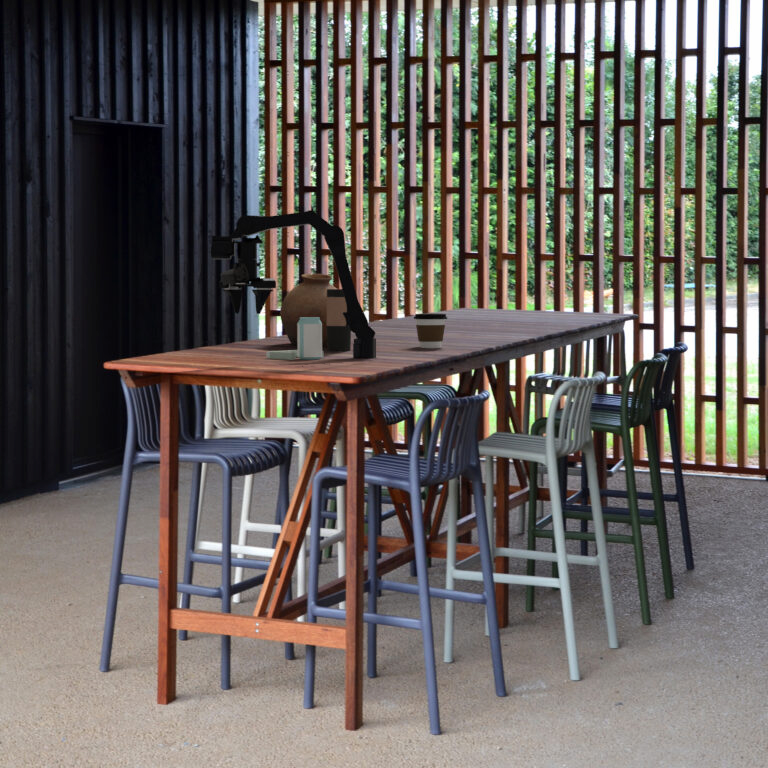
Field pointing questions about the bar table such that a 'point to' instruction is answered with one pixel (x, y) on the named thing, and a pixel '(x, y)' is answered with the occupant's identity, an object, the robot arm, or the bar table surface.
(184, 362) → the bar table surface
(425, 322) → the coffee cup
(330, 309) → the travel mug
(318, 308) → the pottery
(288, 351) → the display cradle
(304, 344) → the can
